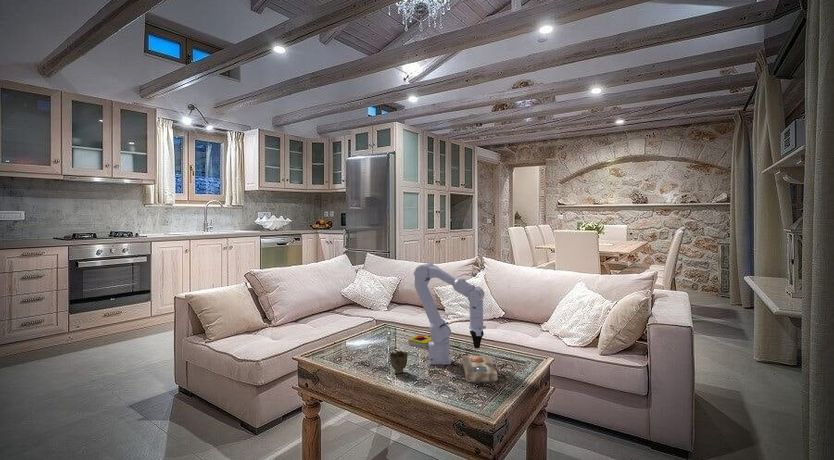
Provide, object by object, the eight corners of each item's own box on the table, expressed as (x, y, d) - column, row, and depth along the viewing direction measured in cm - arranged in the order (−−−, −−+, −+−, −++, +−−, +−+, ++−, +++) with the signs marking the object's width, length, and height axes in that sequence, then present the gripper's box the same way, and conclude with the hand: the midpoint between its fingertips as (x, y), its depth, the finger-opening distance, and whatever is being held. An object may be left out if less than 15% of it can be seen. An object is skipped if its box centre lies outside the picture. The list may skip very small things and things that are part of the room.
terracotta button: (472, 366, 167) (472, 359, 167) (471, 362, 172) (471, 355, 172) (483, 366, 167) (482, 359, 167) (481, 362, 172) (481, 355, 171)
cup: (394, 377, 160) (394, 357, 160) (387, 371, 167) (386, 352, 167) (411, 373, 164) (410, 354, 164) (403, 367, 170) (403, 349, 170)
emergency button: (416, 332, 210) (439, 336, 200) (416, 340, 210) (439, 345, 200) (404, 336, 203) (428, 341, 193) (405, 344, 203) (428, 350, 193)
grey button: (475, 377, 157) (475, 370, 157) (474, 373, 162) (474, 366, 162) (486, 377, 157) (486, 370, 157) (485, 373, 162) (484, 365, 162)
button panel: (466, 381, 155) (466, 374, 155) (462, 362, 175) (462, 356, 175) (497, 381, 154) (497, 373, 154) (489, 362, 174) (489, 355, 174)
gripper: (488, 320, 161) (488, 353, 162) (483, 312, 176) (483, 342, 176) (470, 320, 162) (471, 353, 162) (467, 312, 176) (467, 342, 177)
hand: (476, 348), depth 169 cm, fingers closed
